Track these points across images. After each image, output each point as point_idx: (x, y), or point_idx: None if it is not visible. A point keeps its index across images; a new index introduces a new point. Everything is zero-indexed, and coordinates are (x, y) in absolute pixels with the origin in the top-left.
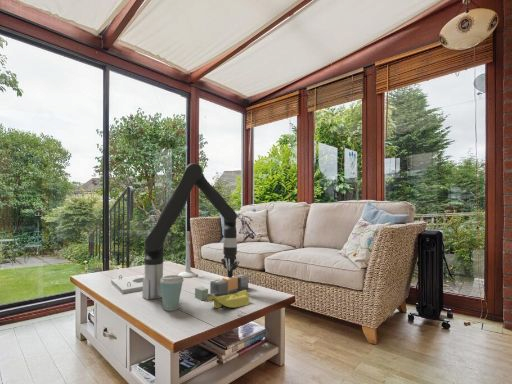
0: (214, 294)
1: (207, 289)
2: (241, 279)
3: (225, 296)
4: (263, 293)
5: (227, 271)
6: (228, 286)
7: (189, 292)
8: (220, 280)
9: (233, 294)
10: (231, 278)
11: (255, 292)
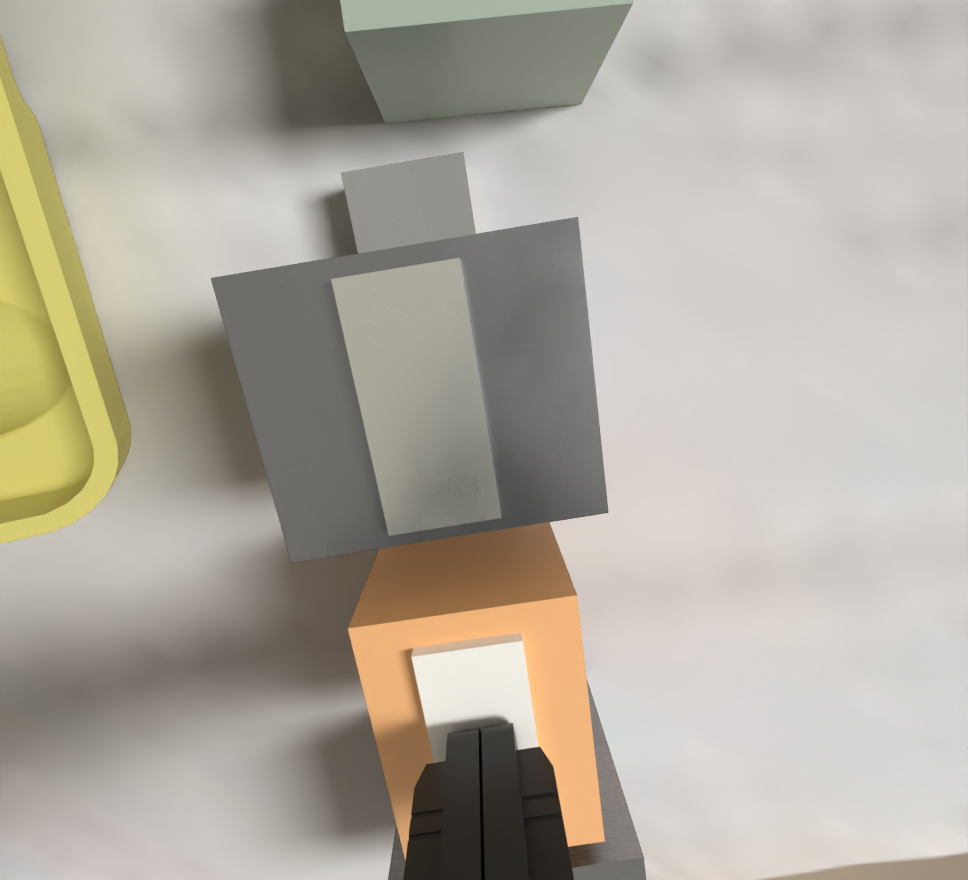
0: (362, 235)
1: (344, 14)
2: (394, 875)
3: (44, 276)
4: (160, 836)
5: (567, 874)
6: (377, 556)
7: (892, 16)
8: (446, 466)
9: (97, 454)
10: (416, 740)
11: (247, 792)
